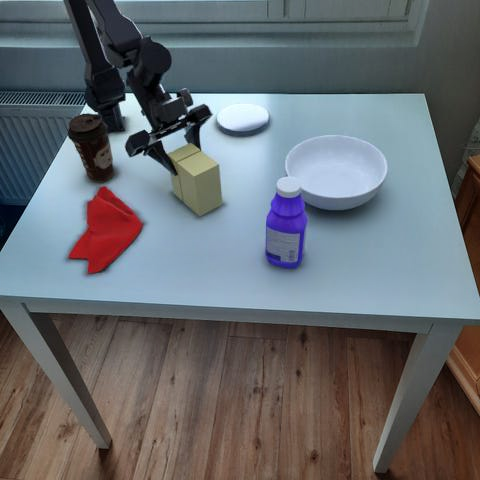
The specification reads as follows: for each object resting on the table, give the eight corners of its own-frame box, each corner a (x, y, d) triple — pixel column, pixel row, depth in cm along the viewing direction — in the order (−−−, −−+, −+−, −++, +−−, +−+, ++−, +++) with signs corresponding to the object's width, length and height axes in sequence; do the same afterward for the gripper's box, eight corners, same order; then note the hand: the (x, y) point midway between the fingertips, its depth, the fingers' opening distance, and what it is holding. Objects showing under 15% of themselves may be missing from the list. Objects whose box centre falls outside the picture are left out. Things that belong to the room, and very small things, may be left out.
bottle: (306, 252, 91) (314, 176, 77) (299, 273, 87) (305, 198, 74) (270, 245, 92) (271, 169, 78) (262, 265, 89) (261, 190, 75)
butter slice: (174, 193, 103) (166, 153, 95) (196, 182, 105) (190, 142, 97) (182, 201, 101) (175, 161, 93) (205, 190, 103) (200, 149, 95)
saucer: (214, 111, 123) (214, 106, 122) (264, 106, 123) (264, 100, 122) (220, 139, 115) (220, 133, 114) (272, 133, 116) (273, 127, 114)
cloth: (130, 274, 89) (127, 266, 87) (60, 273, 90) (55, 265, 88) (153, 187, 105) (151, 179, 103) (93, 187, 106) (90, 179, 104)
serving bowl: (263, 195, 101) (263, 168, 96) (322, 151, 110) (325, 124, 105) (343, 238, 92) (348, 211, 87) (400, 187, 101) (408, 159, 96)
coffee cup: (125, 164, 111) (110, 111, 100) (116, 186, 106) (100, 133, 95) (89, 163, 111) (71, 110, 101) (78, 185, 106) (58, 132, 96)
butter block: (183, 202, 101) (176, 162, 93) (206, 191, 103) (201, 150, 95) (199, 216, 98) (193, 176, 90) (222, 204, 100) (219, 164, 92)
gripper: (117, 96, 83) (161, 177, 87) (202, 62, 90) (240, 139, 93) (107, 119, 94) (147, 191, 97) (185, 87, 100) (220, 156, 103)
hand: (189, 169), depth 97 cm, fingers closed on butter slice, 6 cm apart
